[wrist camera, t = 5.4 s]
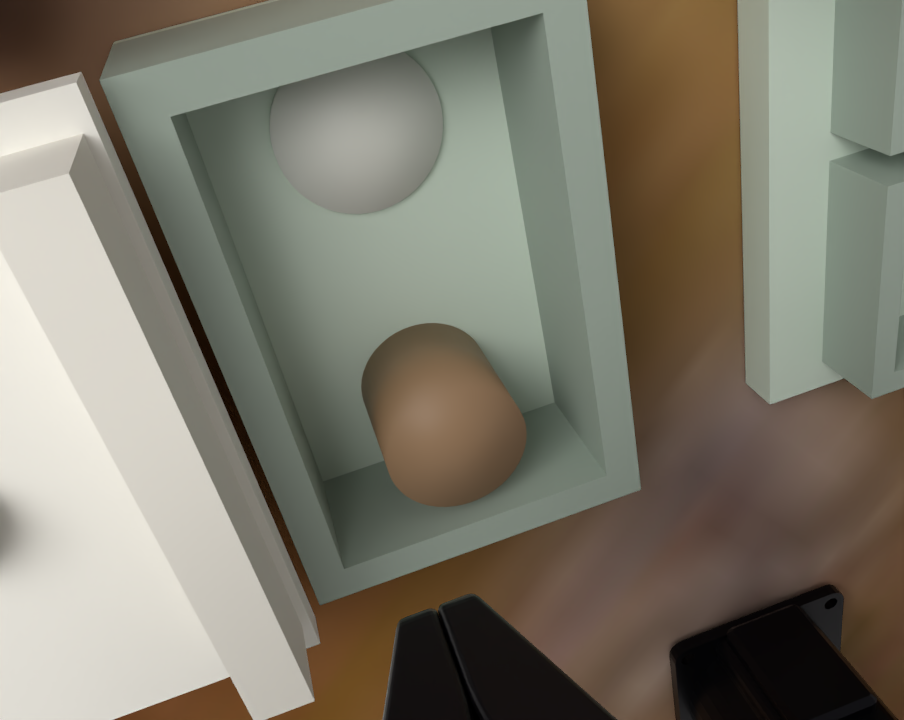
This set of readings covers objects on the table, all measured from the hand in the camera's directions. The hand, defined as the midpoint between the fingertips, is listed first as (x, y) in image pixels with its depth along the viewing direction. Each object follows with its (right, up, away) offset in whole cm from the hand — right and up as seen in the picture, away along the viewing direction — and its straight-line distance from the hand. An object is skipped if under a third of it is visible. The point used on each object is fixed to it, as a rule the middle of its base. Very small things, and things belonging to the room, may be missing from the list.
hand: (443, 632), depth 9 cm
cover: (-8, +1, +7) cm, 11 cm away
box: (-1, +5, +11) cm, 12 cm away
